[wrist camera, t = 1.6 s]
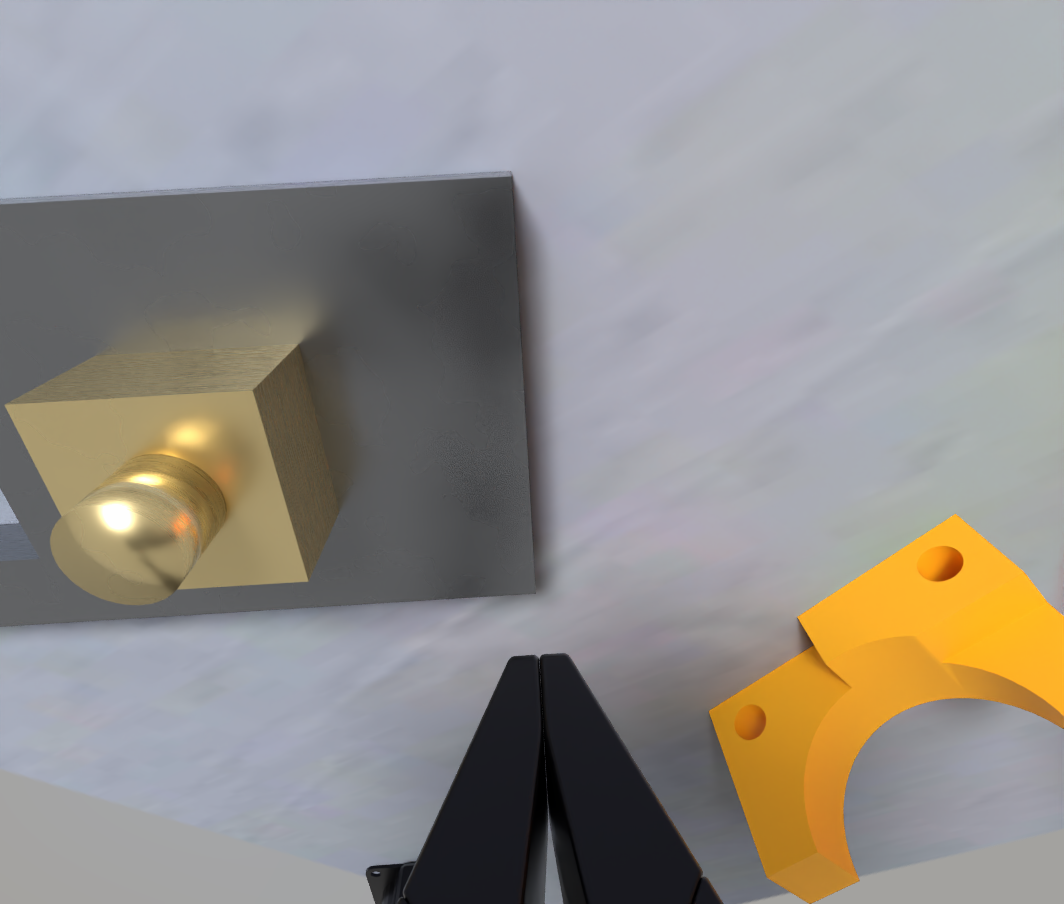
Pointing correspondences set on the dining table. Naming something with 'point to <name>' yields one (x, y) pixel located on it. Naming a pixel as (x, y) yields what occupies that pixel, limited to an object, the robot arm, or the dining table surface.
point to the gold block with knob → (181, 470)
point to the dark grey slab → (329, 360)
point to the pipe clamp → (881, 688)
